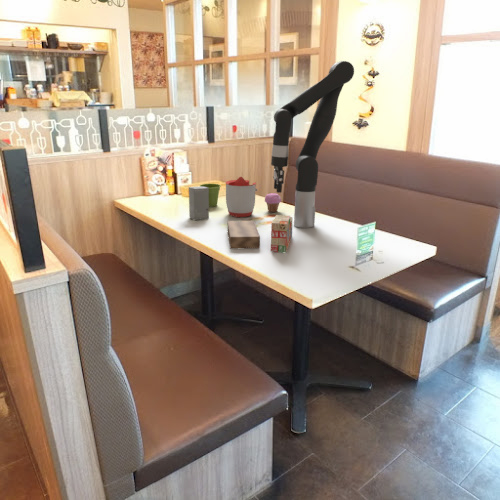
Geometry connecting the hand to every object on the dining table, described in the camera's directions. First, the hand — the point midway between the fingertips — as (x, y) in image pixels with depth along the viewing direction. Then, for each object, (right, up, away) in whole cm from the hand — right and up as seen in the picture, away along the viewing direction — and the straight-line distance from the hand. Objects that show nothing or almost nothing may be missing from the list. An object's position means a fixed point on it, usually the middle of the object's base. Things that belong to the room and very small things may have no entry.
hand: (277, 190), depth 208 cm
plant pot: (-35, -3, +43) cm, 56 cm away
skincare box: (-38, -12, +17) cm, 44 cm away
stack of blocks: (+1, -25, -20) cm, 32 cm away
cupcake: (-1, -7, +32) cm, 33 cm away
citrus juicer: (-17, -9, +25) cm, 32 cm away
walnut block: (-16, -23, -15) cm, 32 cm away
